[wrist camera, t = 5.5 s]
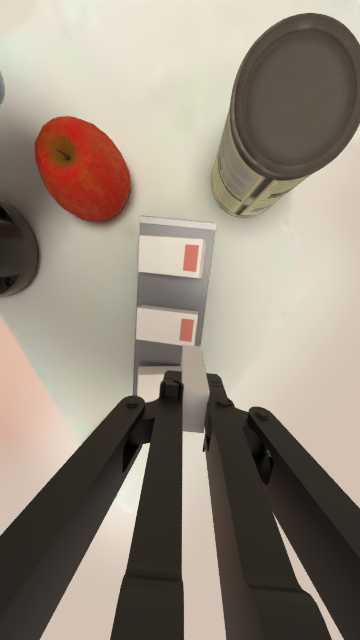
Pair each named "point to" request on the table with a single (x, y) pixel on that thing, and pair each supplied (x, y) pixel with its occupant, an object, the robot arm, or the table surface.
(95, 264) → the table surface
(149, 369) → the rocker
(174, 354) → the rocker switch panel
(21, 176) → the table surface
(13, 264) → the robot arm
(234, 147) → the coffee can
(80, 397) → the table surface
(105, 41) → the table surface
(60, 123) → the apple
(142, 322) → the rocker
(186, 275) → the block
